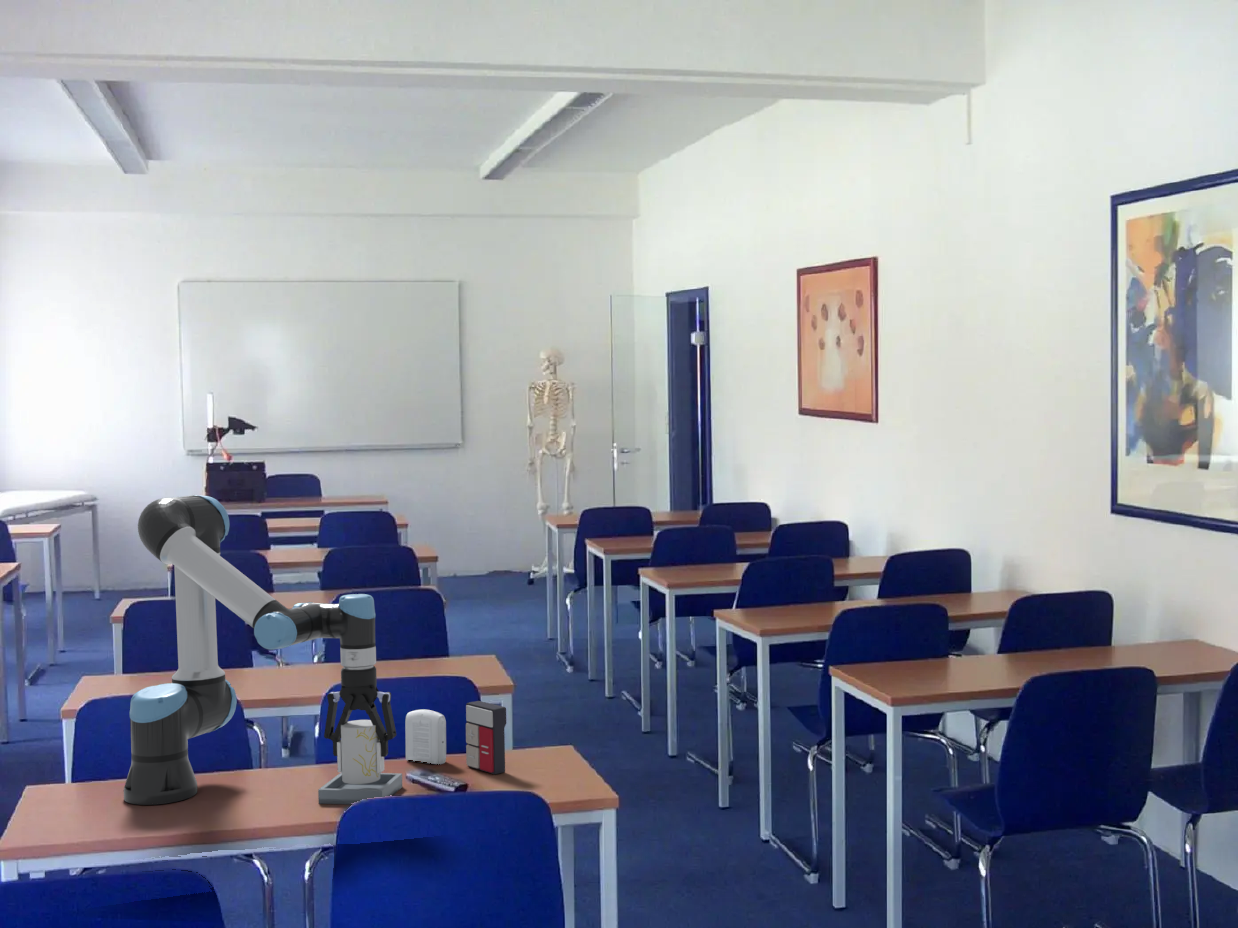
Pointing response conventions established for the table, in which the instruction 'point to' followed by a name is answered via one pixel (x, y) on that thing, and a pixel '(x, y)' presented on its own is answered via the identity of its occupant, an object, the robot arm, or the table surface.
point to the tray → (358, 789)
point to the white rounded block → (425, 736)
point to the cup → (359, 752)
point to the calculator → (485, 737)
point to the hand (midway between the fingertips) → (361, 770)
